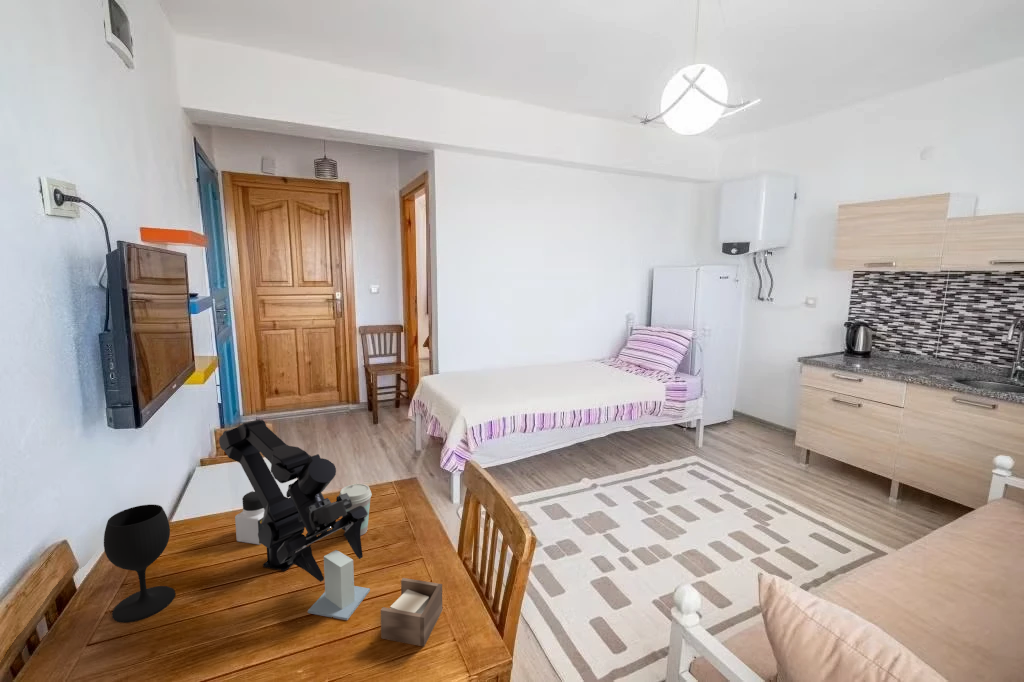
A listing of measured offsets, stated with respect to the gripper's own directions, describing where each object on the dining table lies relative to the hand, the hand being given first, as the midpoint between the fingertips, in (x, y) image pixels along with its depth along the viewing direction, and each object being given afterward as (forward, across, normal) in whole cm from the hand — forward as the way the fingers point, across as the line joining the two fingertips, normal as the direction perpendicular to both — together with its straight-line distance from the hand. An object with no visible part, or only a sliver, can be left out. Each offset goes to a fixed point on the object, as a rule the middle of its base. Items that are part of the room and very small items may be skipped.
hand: (342, 569), depth 94 cm
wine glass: (-18, -25, +29) cm, 42 cm away
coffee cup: (-9, +19, +21) cm, 30 cm away
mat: (+5, 0, +7) cm, 8 cm away
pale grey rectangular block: (+4, 0, +6) cm, 8 cm away
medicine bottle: (-23, +2, +34) cm, 41 cm away
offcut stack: (+17, +5, -5) cm, 18 cm away
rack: (+17, +5, -5) cm, 18 cm away
